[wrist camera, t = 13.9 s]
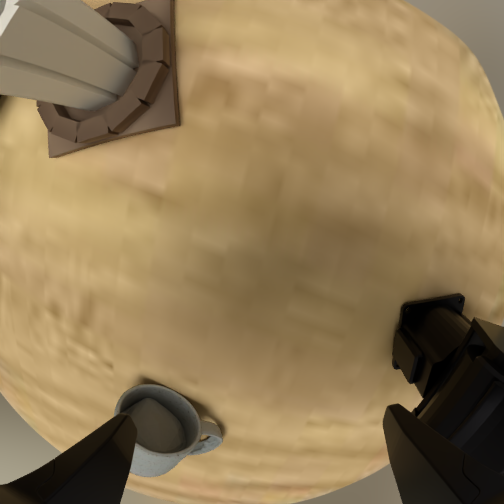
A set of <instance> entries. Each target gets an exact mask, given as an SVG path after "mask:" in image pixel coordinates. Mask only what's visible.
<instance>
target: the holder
mask: <svg viewBox="0 0 504 504" xmlns="http://www.w3.org/2000/svg"><path fill="white" fill-rule="evenodd" d="M94 10H95V11H96V12H98V13H99V14H100V15H101V16H103V17H104V18H105V19H107V20H108V21H109V22H110V23H112V24H113V25H114V26H115V27H117V28H118V29H119V30H120V31H122V32H123V33H124V34H125V35H126V36H128V37H129V38H130V39H131V40H133V43H135V44H136V50H137V57H138V64H139V67H137V68H134V69H133V70H135V71H136V72H137V74H136V75H135V77H134V78H133V80H132V82H131V83H130V85H129V86H128V88H127V90H126V91H125V93H124V95H123V96H119V95H117V101H116V102H114V103H112V104H109V105H107V106H105V107H103V108H100V109H98V110H96V111H91V110H90V111H86V110H82V109H77V108H73V107H68V106H64V105H59V104H54V103H49V102H44V101H38V100H37V107H39V108H38V109H37V110H38V112H39V114H40V116H41V118H42V120H43V122H44V123H45V125H46V127H47V129H48V148H49V158H57V157H60V156H63V155H66V154H69V153H72V152H75V151H78V150H82V149H85V148H88V147H91V146H95V145H98V144H102V143H105V142H109V141H113V140H117V139H121V138H124V137H128V136H133V135H137V134H141V133H146V132H150V131H155V130H160V129H164V128H170V127H175V126H180V120H179V107H178V94H177V78H176V59H175V34H174V0H145V1H142V2H139V3H136V4H131V3H118V2H113V4H111V3H109V4H106V5H104V6H101V7H99V8H97V9H94Z"/></svg>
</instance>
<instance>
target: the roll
mask: <svg viewBox="0 0 504 504" xmlns="http://www.w3.org/2000/svg"><path fill="white" fill-rule="evenodd" d="M137 67H139V64H138V57H137V50H136V44H135V43H133V40H131V39H130V38H129V37H128V36H126V35H125V34H124V33H123V32H122V31H120V30H119V29H118V28H117V27H115V26H114V25H113V24H112V23H110V22H109V21H108V20H107V19H105V18H104V17H103V16H101V15H100V14H99V13H98V12H96V11H95V10H94V9H92V8H91V7H90V6H88V5H87V4H86V3H84V2H83V1H81V0H0V94H1V95H8V96H15V97H21V98H27V99H33V100H38V101H44V102H49V103H54V104H59V105H64V106H68V107H73V108H77V109H82V110H86V111H90V110H91V111H96V110H98V109H100V108H103V107H105V106H107V105H109V104H112V103H114V102H116V101H117V95H119V96H123V95H124V93H125V91H126V90H127V88H128V86H129V85H130V83H131V82H132V80H133V78H134V77H135V75H136V74H137V72H136V71H135V70H133V69H134V68H137Z"/></svg>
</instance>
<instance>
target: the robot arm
mask: <svg viewBox="0 0 504 504" xmlns="http://www.w3.org/2000/svg"><path fill="white" fill-rule="evenodd" d="M459 299H460V300H459ZM464 301H465V297H464V296H463V295H462V294H455V295H450V296H444V297H439V298H433V299H427V300H421V301H415V302H408V303H405V304H404V305H403V306H402V307H401V313H400V320H399V327H398V329H397V331H396V335H395V341H394V347H393V353H392V355H393V362H392V366H393V367H394V369H396V370H397V369H401V370H402V372H403V374H404V376H405V377H406V379H407V381H408V382H409V383H410V384H413V383H414V384H415V386H416V387H417V389H418V391H419V393H420V394H421V396H422V398H424V399H423V400H422V401H421V403H420V404H419V405H418V407H417V408H415V409H414V410H413V411H412V412H410V411H408V410H407V409H406V408H404V407H403V406H402V405H400V404H393V405H389V406H387V408H386V411H385V415H384V418H383V429H384V434H385V439H386V444H387V450H388V455H389V460H390V464H391V467H392V470H393V473H394V476H395V479H396V483H397V486H398V490H399V493H400V496H401V499H402V503H403V504H504V327H502V326H499V325H496V324H493V323H490V322H487V321H484V320H481V319H478V318H476V317H474V318H473V320H472V322H471V321H470V320H469V319H468V318H467V317H465V316H464V315H463V314H462V311H463V306H464ZM407 308H409V309H408V310H407V311H406V309H407ZM137 433H138V431H137V427H136V426H135V424H134V422H133V420H132V418H131V416H130V415H128V414H123V413H119V414H117V415H116V416H114V417H113V418H112V419H110V420H109V421H107V422H106V423H105V424H103V425H102V426H101V427H99V428H98V429H96V430H95V431H94V432H92V433H91V434H89V435H88V436H86V437H85V438H84V439H82V440H81V441H79V442H78V443H76V444H75V445H74V446H72V447H71V448H69V449H68V450H66V451H65V452H63V453H62V454H60V455H59V456H57V457H56V458H55V459H53V460H51V461H50V462H49V463H47V464H45V465H43V466H42V467H40V468H39V469H37V470H35V471H33V472H31V473H29V474H27V475H25V476H23V477H21V478H19V479H17V480H15V481H12V482H10V483H8V484H3V485H0V504H120V502H121V498H122V495H123V492H124V488H125V485H126V482H127V478H128V475H129V472H130V469H131V465H132V460H133V455H134V449H135V444H136V439H137Z"/></svg>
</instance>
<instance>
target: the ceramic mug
mask: <svg viewBox="0 0 504 504" xmlns="http://www.w3.org/2000/svg"><path fill="white" fill-rule="evenodd" d="M119 413H123V414H128V415H130V416H131V418H132V420H133V422H134V424H135V426H136V427H137V431H138V433H137V439H136V444H135V449H134V455H133V460H132V465H131V469H130V473H133V474H135V475H138V476H142V477H156V476H160V475H162V474H165V473H167V472H168V471H170V470H171V469H173V468H174V467H175V466H176V465H177V464H178V463H179V462H180V461H181V460H182V459H183V458H185V457H186V456H187V455H199V454H202V453H206V452H209V451H211V450H214V449H215V448H217V447H218V446H219V445H220V444H221V443H222V442H223V437H222V434H221V431H220V428H219V427H218V426H217V425H216V424H215V423H212V422H207V421H202V420H200V418H199V415H198V413H197V411H196V410H195V408H194V407H193V406H192V405H191V403H190V402H189V401H188V400H187V399H185V398H184V397H183V396H182V395H180V394H179V393H177V392H175V391H174V390H171V389H169V388H167V387H164V386H161V385H156V384H142V385H137V386H134V387H132V388H130V389H129V390H127V391H126V392H124V393H123V395H122V396H121V397H120V399H119V401H118V403H117V405H116V408H115V413H114V416H116V415H117V414H119ZM201 435H209V436H210V437H209V438H208V439H206V440H204V441H201V442H199V440H200V438H201Z"/></svg>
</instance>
